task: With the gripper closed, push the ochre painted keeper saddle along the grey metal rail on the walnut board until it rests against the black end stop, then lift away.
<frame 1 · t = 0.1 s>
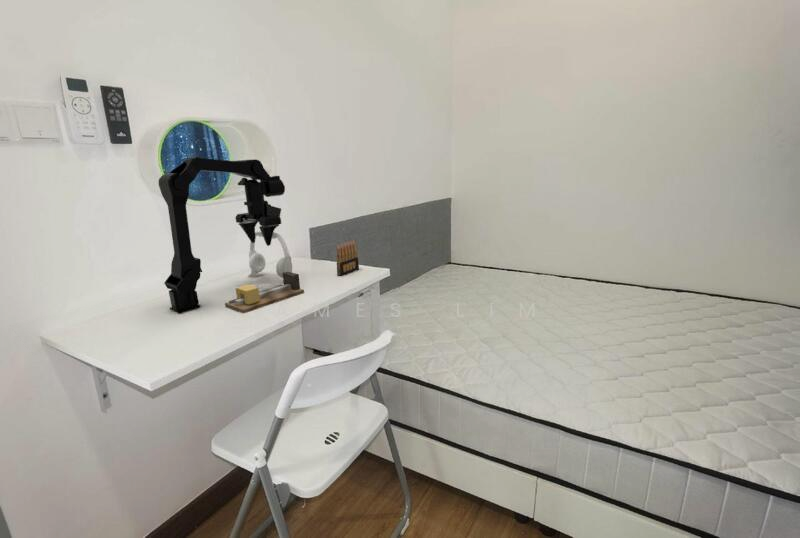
hand: (260, 244, 143), 15 cm above the table, fingers open, 9 cm apart
rail board: (266, 299, 131), on the table
ammunition clip: (348, 273, 158), on the table
headset: (271, 279, 154), on the table
keeper: (247, 294, 126), point 3 cm above the table, slide at 0.0 cm
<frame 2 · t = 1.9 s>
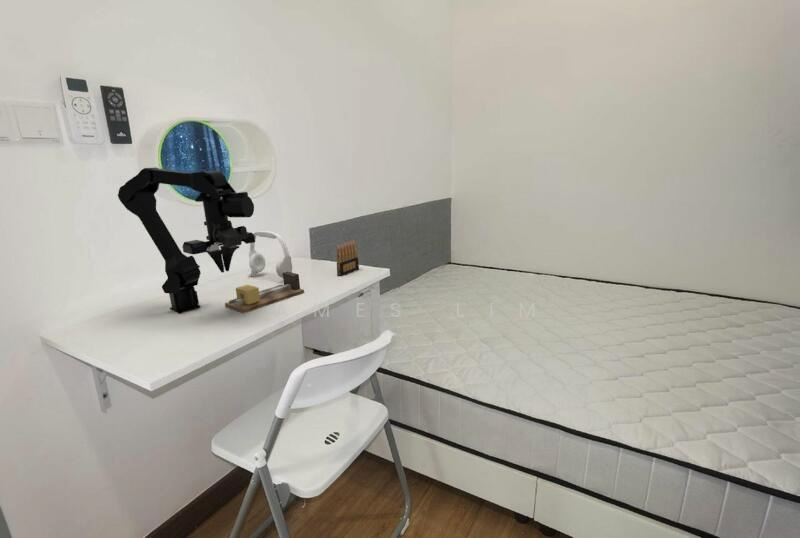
hand: (225, 271, 119), 12 cm above the table, fingers closed
nothing on the table moved.
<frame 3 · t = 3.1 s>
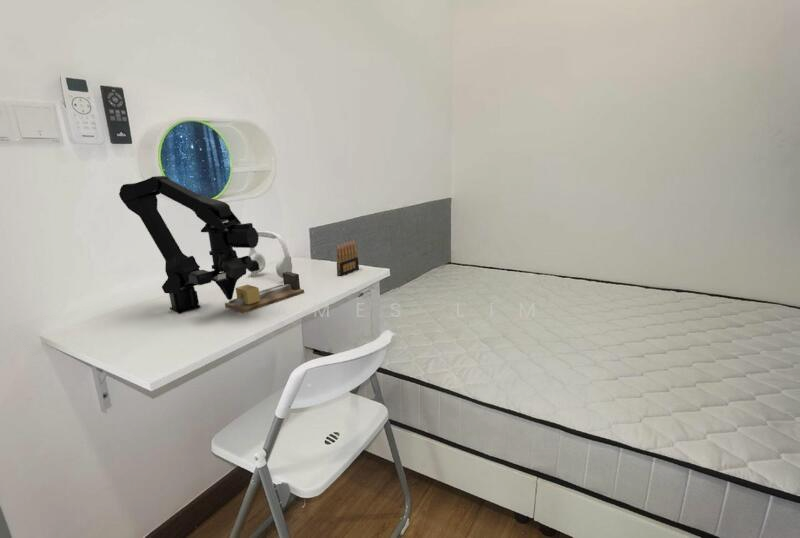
hand: (229, 299, 121), 4 cm above the table, fingers closed
nothing on the table moved.
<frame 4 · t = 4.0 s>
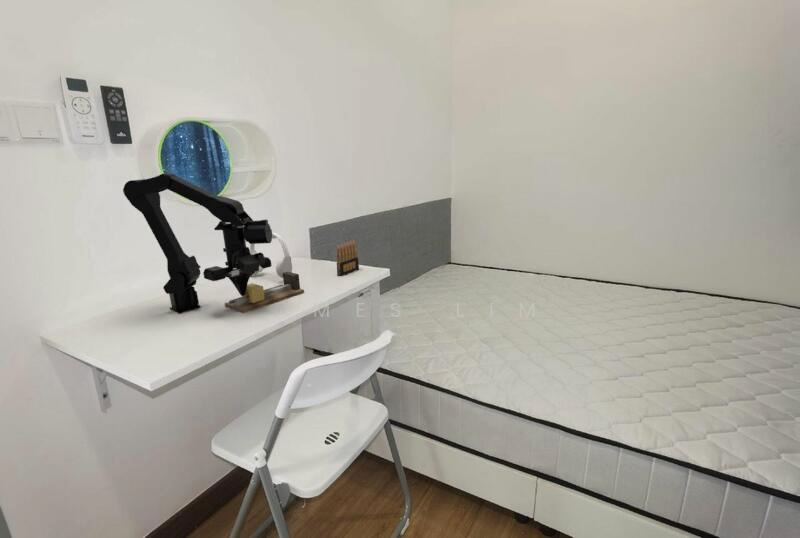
hand: (242, 295, 124), 4 cm above the table, fingers closed
keeper: (252, 292, 127), point 3 cm above the table, slide at 1.6 cm, touching gripper
everything else where it was.
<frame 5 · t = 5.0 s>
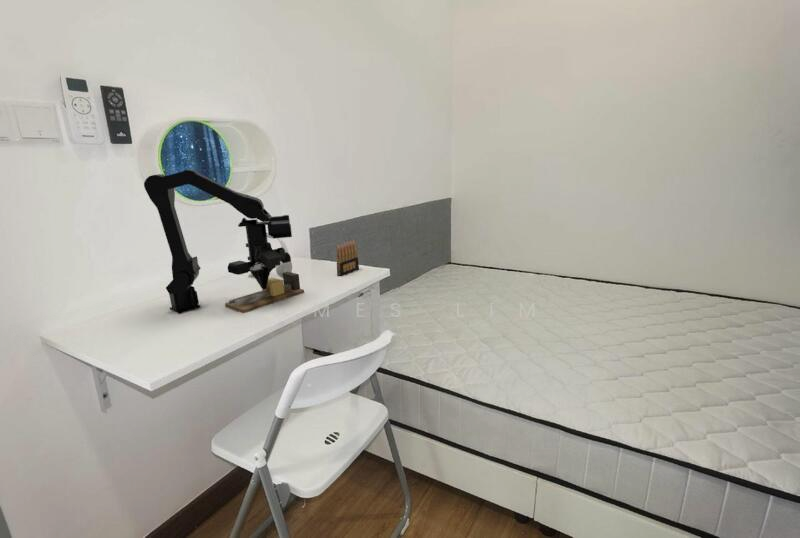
hand: (263, 288, 130), 4 cm above the table, fingers closed
keeper: (272, 286, 132), point 3 cm above the table, slide at 8.8 cm, touching gripper
everything else where it was.
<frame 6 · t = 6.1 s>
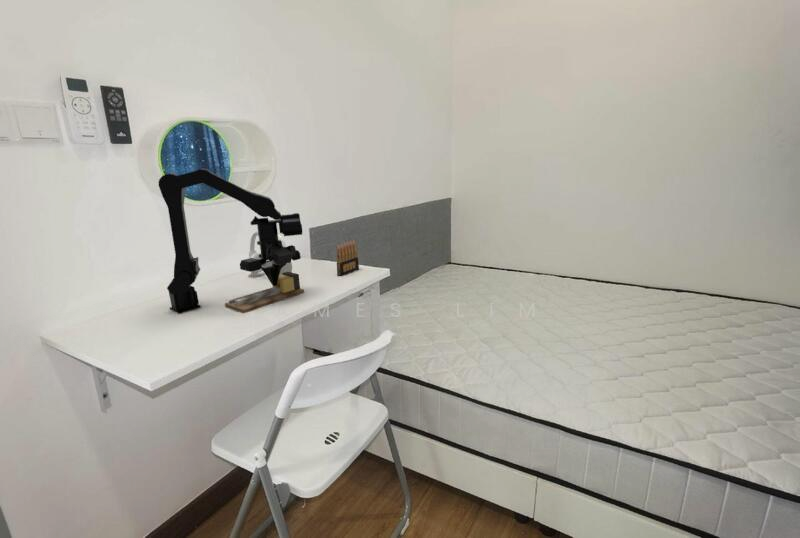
hand: (274, 285, 133), 4 cm above the table, fingers closed
keeper: (283, 283, 135), point 3 cm above the table, slide at 12.8 cm, touching gripper
everything else where it was.
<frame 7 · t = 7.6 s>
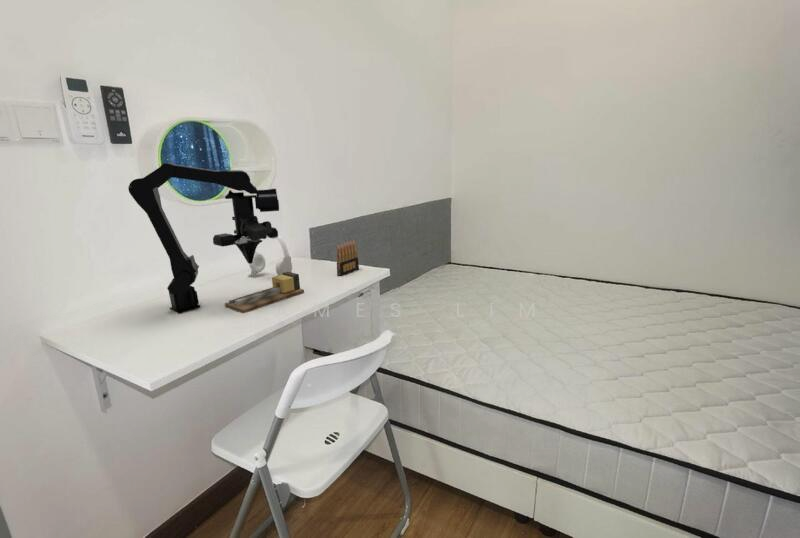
hand: (250, 263, 129), 12 cm above the table, fingers closed
keeper: (283, 283, 135), point 3 cm above the table, slide at 12.8 cm
everything else where it was.
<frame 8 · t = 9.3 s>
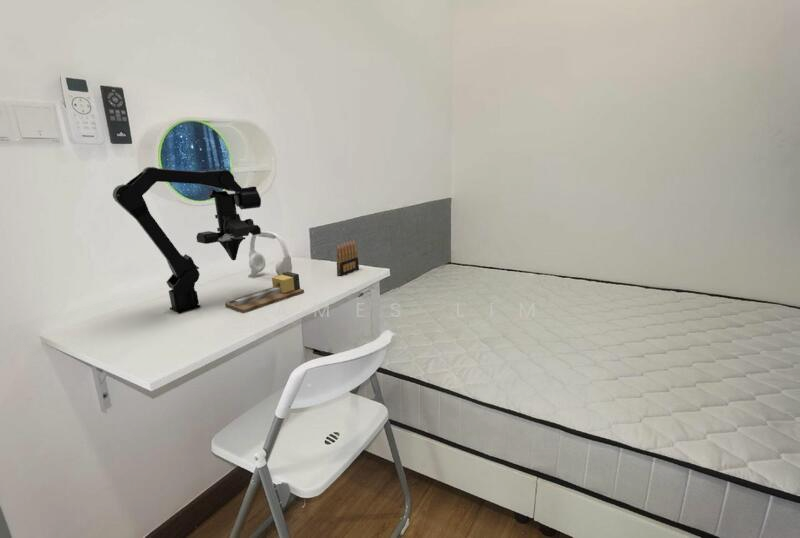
hand: (233, 260, 132), 12 cm above the table, fingers closed
nothing on the table moved.
at the end: keeper slide at 12.8 cm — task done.
